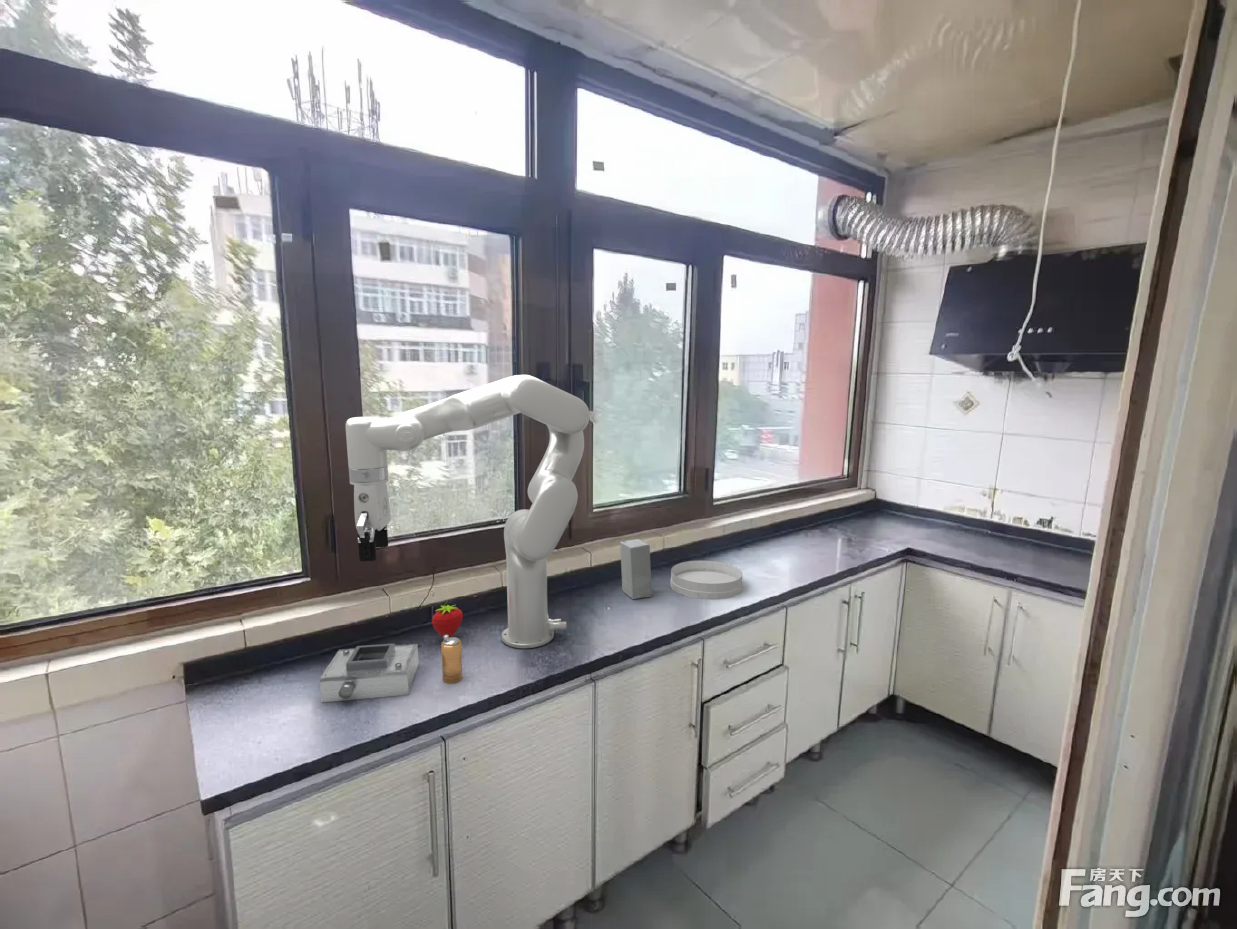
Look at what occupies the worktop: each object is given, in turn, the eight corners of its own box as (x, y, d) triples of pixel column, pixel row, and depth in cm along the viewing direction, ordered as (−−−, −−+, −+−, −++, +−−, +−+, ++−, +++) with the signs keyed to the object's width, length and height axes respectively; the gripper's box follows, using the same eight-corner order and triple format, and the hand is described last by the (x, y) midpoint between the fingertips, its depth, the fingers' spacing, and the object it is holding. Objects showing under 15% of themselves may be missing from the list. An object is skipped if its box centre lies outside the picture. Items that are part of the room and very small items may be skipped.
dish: (705, 570, 189) (705, 556, 188) (757, 589, 171) (758, 573, 171) (655, 584, 175) (655, 569, 174) (707, 606, 158) (707, 589, 157)
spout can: (463, 673, 120) (461, 630, 119) (461, 682, 116) (460, 638, 115) (444, 674, 119) (442, 631, 118) (441, 684, 115) (439, 640, 114)
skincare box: (652, 597, 164) (653, 544, 161) (629, 600, 161) (630, 547, 159) (640, 587, 171) (641, 537, 169) (619, 590, 169) (619, 539, 166)
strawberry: (468, 638, 136) (467, 599, 135) (439, 648, 131) (437, 607, 130) (457, 631, 140) (455, 593, 139) (428, 640, 135) (426, 600, 134)
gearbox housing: (418, 665, 123) (417, 637, 122) (406, 700, 109) (404, 669, 109) (340, 671, 120) (338, 643, 119) (318, 708, 107) (315, 676, 106)
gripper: (376, 481, 110) (382, 565, 113) (397, 468, 127) (402, 541, 130) (336, 483, 109) (342, 567, 112) (362, 469, 126) (367, 543, 129)
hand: (374, 553), depth 121 cm, fingers open, 9 cm apart
